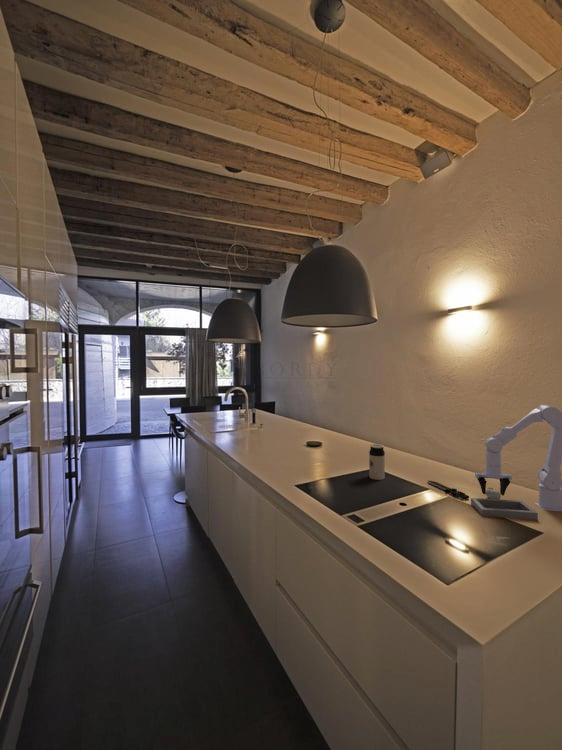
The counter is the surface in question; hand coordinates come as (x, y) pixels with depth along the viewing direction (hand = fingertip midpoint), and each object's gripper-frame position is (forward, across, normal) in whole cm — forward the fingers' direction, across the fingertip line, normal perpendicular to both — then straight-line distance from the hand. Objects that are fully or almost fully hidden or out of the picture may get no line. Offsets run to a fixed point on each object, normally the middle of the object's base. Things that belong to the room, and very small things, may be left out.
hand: (492, 494), depth 153 cm
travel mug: (+3, +49, -21) cm, 53 cm away
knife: (+5, +21, -4) cm, 22 cm away
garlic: (+3, 0, 0) cm, 3 cm away
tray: (+2, +2, +14) cm, 14 cm away
